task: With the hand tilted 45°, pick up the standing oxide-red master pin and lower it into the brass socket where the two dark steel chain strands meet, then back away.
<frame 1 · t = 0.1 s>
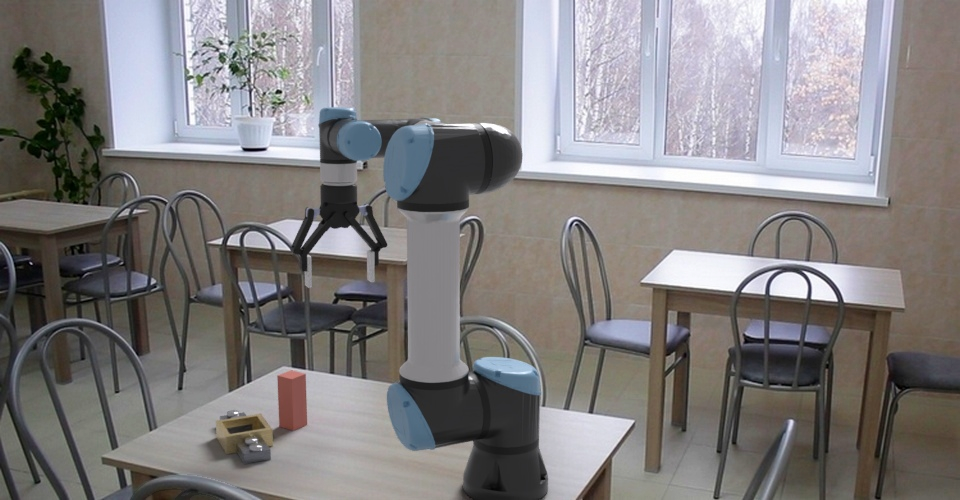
hand: (340, 283, 206), 28 cm above the table, tool pointing down, fingers open, 13 cm apart
link pin: (293, 425, 202), on the table
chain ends: (244, 441, 193), on the table
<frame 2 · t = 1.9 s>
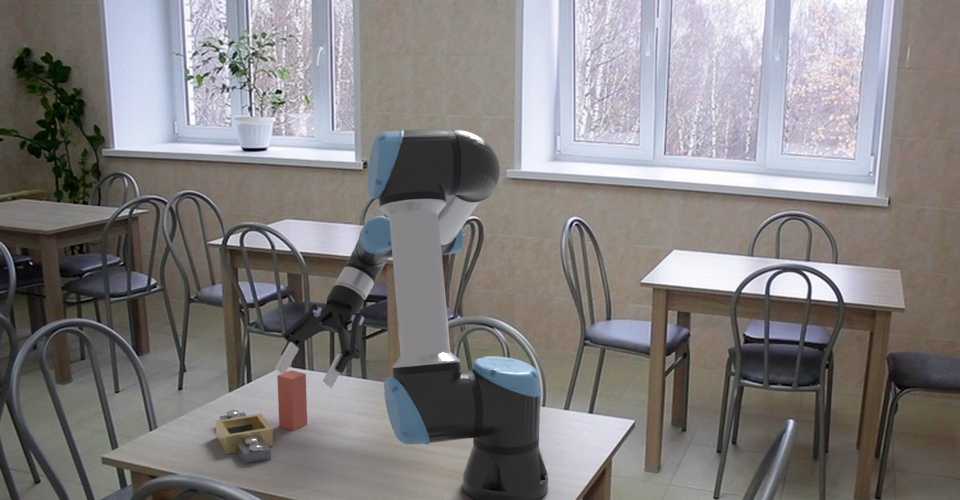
hand: (303, 378, 204), 9 cm above the table, tool tilted 45°, fingers open, 13 cm apart
nothing on the table moved.
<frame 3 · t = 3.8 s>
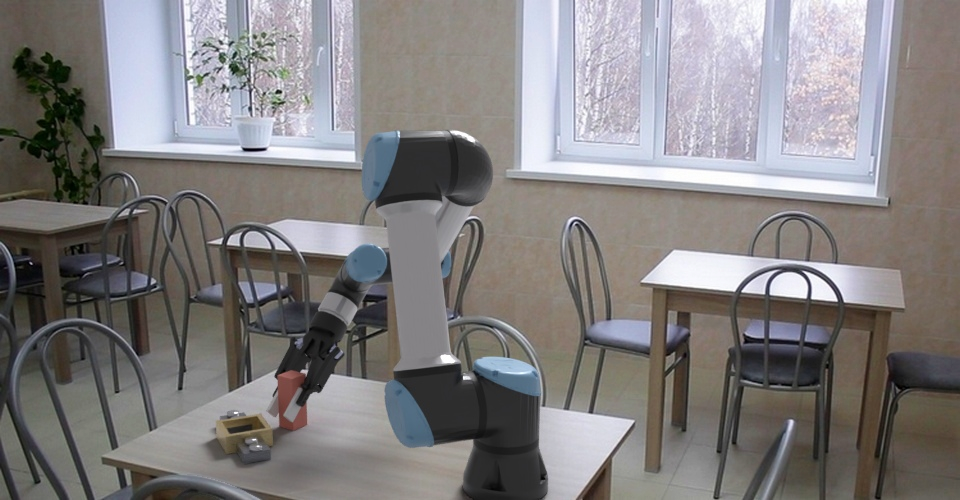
hand: (279, 416, 198), 3 cm above the table, tool tilted 45°, fingers closed on link pin, 4 cm apart
link pin: (293, 425, 202), on the table, touching gripper
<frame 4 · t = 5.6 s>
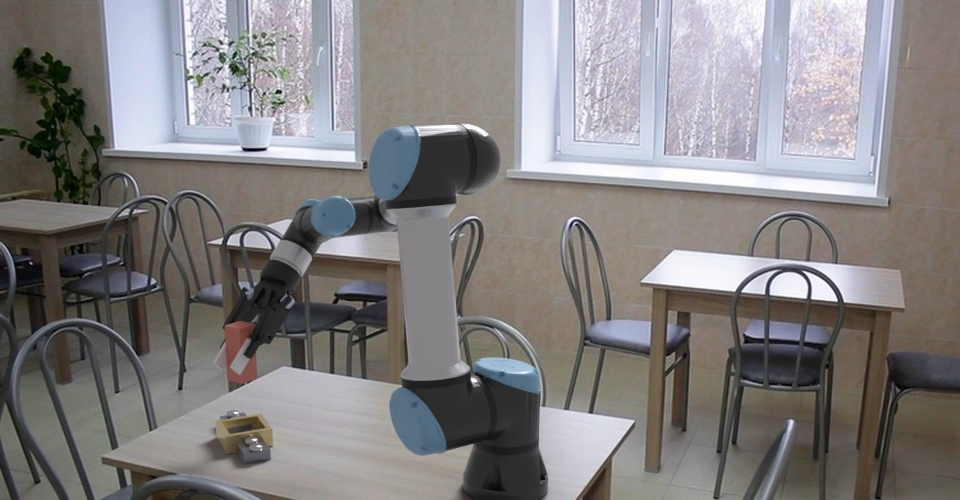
hand: (226, 368, 187), 16 cm above the table, tool tilted 45°, fingers closed on link pin, 4 cm apart
link pin: (242, 379, 191), point 13 cm above the table, touching gripper
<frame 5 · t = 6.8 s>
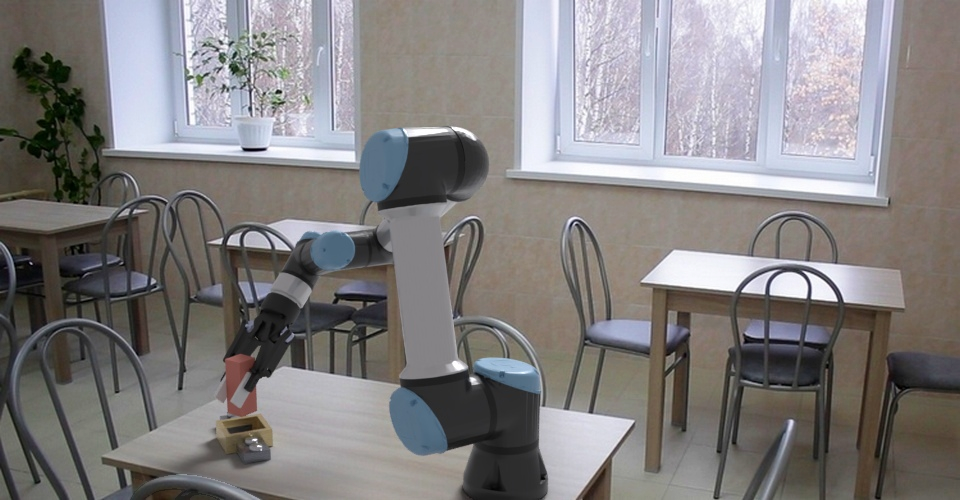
hand: (226, 402, 189), 9 cm above the table, tool tilted 45°, fingers closed on link pin, 4 cm apart
link pin: (242, 411, 193), point 6 cm above the table, touching gripper
when the fingers open (5 cm above the table, at t = 7.8 s): link pin drops 2 cm, resting in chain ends.
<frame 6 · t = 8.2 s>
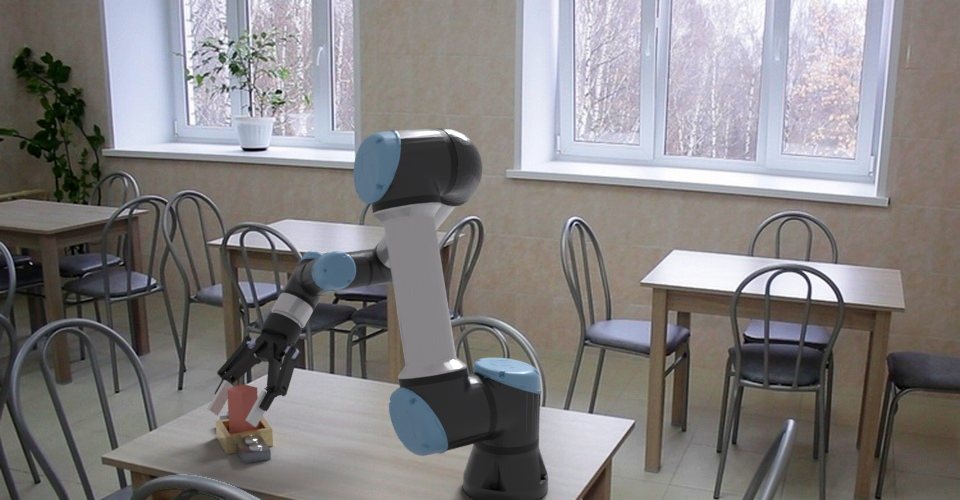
hand: (231, 417, 190), 6 cm above the table, tool tilted 45°, fingers open, 10 cm apart
link pin: (244, 441, 193), resting in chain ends
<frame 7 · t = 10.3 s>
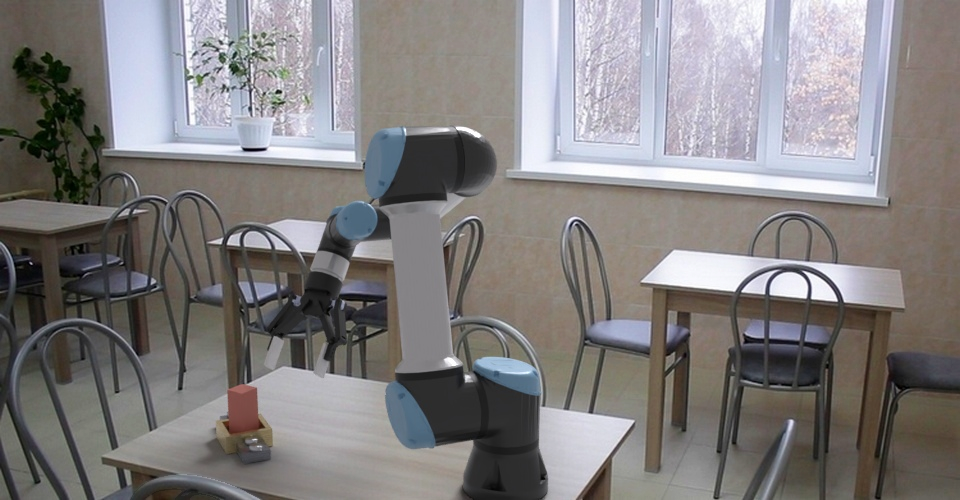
hand: (292, 371, 200), 11 cm above the table, tool tilted 35°, fingers open, 13 cm apart
nothing on the table moved.
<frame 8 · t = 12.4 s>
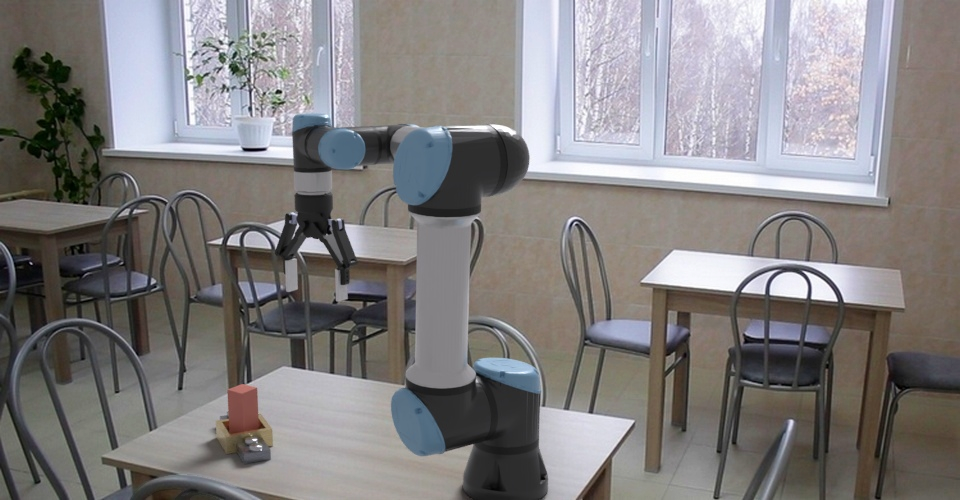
hand: (316, 295, 200), 27 cm above the table, tool pointing down, fingers open, 13 cm apart
nothing on the table moved.
at the end: link pin 0.1 cm off-centre on the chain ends, point 0.0 cm above the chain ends's base; link pin tilted 0°; the gripper is holding nothing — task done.
